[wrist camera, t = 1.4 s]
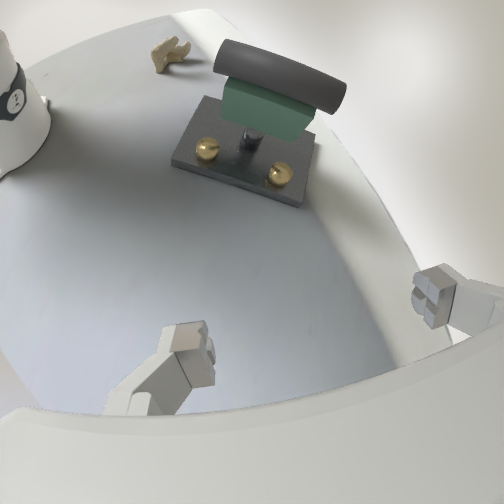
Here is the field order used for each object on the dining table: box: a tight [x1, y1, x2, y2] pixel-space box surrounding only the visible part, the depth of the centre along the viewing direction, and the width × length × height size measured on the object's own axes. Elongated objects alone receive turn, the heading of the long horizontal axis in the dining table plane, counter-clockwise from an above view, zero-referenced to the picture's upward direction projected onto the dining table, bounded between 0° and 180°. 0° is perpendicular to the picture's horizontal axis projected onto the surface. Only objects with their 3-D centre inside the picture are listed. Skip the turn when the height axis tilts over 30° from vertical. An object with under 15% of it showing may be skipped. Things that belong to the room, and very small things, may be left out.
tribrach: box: [171, 95, 316, 208], centre depth 41 cm, size 20×14×7 cm
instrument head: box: [213, 39, 347, 143], centre depth 30 cm, size 13×6×14 cm, turn 75°
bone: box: [151, 36, 191, 73], centre depth 42 cm, size 9×6×10 cm
